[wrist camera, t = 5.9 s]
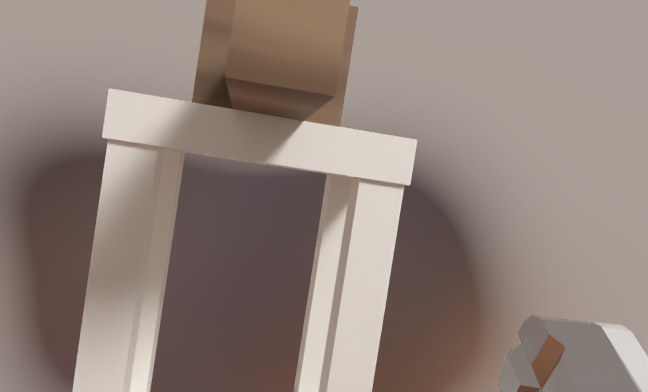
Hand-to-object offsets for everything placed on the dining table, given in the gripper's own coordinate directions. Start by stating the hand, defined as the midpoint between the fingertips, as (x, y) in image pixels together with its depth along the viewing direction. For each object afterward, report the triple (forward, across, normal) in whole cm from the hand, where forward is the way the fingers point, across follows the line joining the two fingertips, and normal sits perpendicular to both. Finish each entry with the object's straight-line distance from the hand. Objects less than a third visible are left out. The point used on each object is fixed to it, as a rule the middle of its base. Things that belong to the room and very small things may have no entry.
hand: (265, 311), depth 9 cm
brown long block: (+16, 0, +4) cm, 17 cm away
